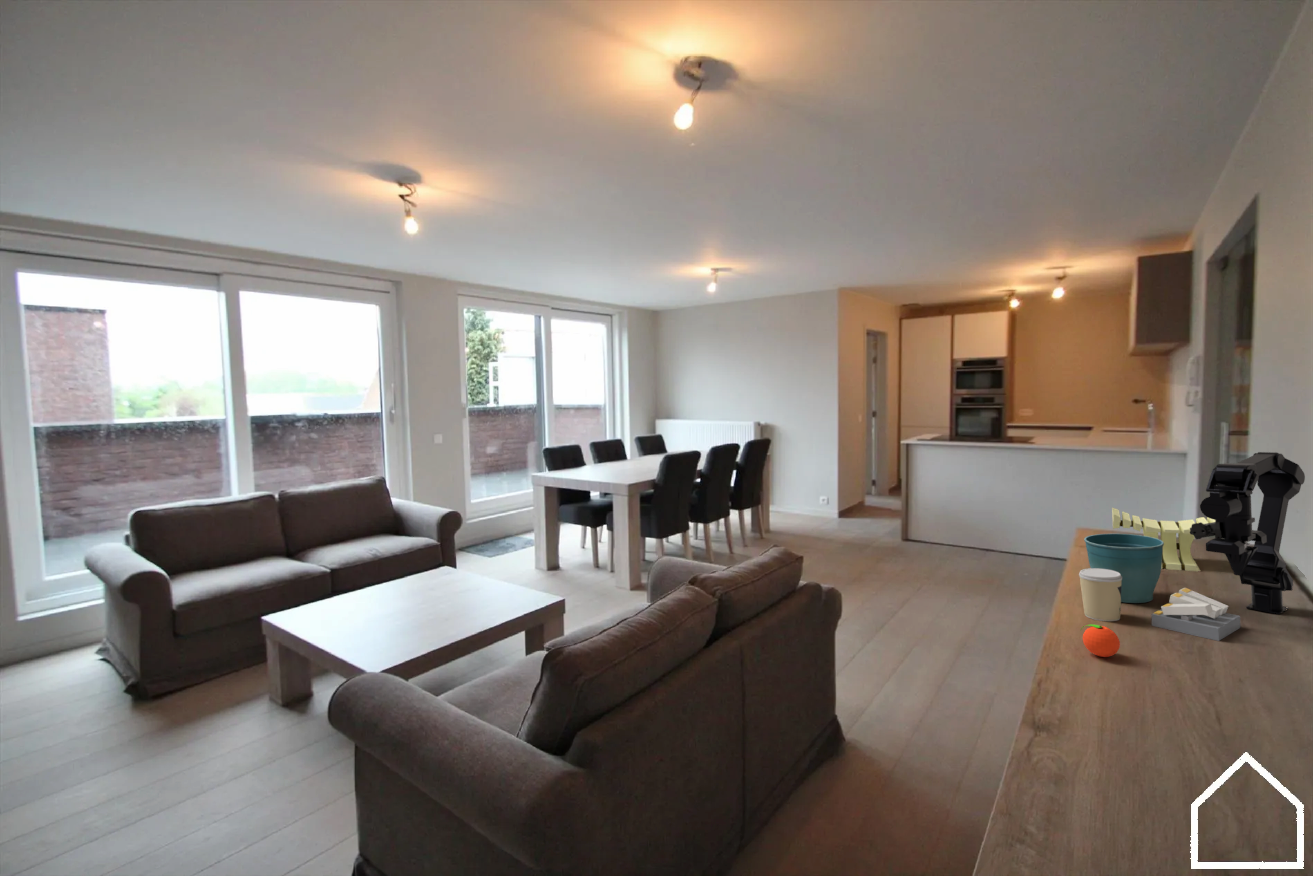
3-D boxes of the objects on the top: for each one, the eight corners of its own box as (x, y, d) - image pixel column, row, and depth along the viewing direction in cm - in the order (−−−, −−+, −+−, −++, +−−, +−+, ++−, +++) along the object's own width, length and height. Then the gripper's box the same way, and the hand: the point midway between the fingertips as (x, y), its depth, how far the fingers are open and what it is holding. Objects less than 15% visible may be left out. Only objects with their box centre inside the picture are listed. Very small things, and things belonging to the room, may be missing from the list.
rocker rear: (1182, 594, 155) (1184, 587, 154) (1225, 612, 148) (1228, 605, 147) (1176, 596, 154) (1179, 589, 153) (1220, 615, 146) (1223, 608, 146)
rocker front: (1169, 612, 150) (1166, 603, 151) (1213, 612, 143) (1210, 603, 143) (1163, 614, 149) (1160, 606, 149) (1208, 614, 141) (1204, 605, 142)
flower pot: (1097, 606, 167) (1094, 547, 166) (1079, 587, 183) (1076, 533, 183) (1177, 609, 160) (1175, 547, 159) (1151, 589, 177) (1148, 533, 176)
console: (1174, 613, 157) (1174, 599, 157) (1240, 627, 146) (1239, 611, 146) (1151, 625, 151) (1151, 610, 151) (1218, 641, 140) (1218, 624, 139)
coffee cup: (1131, 622, 154) (1129, 577, 153) (1091, 622, 156) (1089, 578, 155) (1112, 610, 163) (1110, 567, 163) (1074, 610, 165) (1072, 568, 164)
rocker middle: (1174, 599, 153) (1176, 592, 152) (1219, 615, 145) (1221, 607, 145) (1169, 602, 151) (1170, 594, 151) (1214, 618, 144) (1216, 610, 143)
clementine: (1071, 652, 140) (1070, 623, 139) (1090, 645, 142) (1088, 616, 142) (1108, 664, 132) (1107, 633, 132) (1127, 657, 135) (1126, 627, 135)
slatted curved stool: (1227, 561, 196) (1225, 508, 196) (1237, 574, 184) (1235, 517, 183) (1114, 554, 214) (1111, 505, 214) (1115, 565, 201) (1113, 514, 201)
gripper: (1209, 505, 160) (1211, 562, 160) (1178, 515, 151) (1181, 575, 151) (1266, 509, 150) (1268, 570, 151) (1237, 521, 141) (1239, 585, 142)
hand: (1237, 575), depth 149 cm, fingers closed
